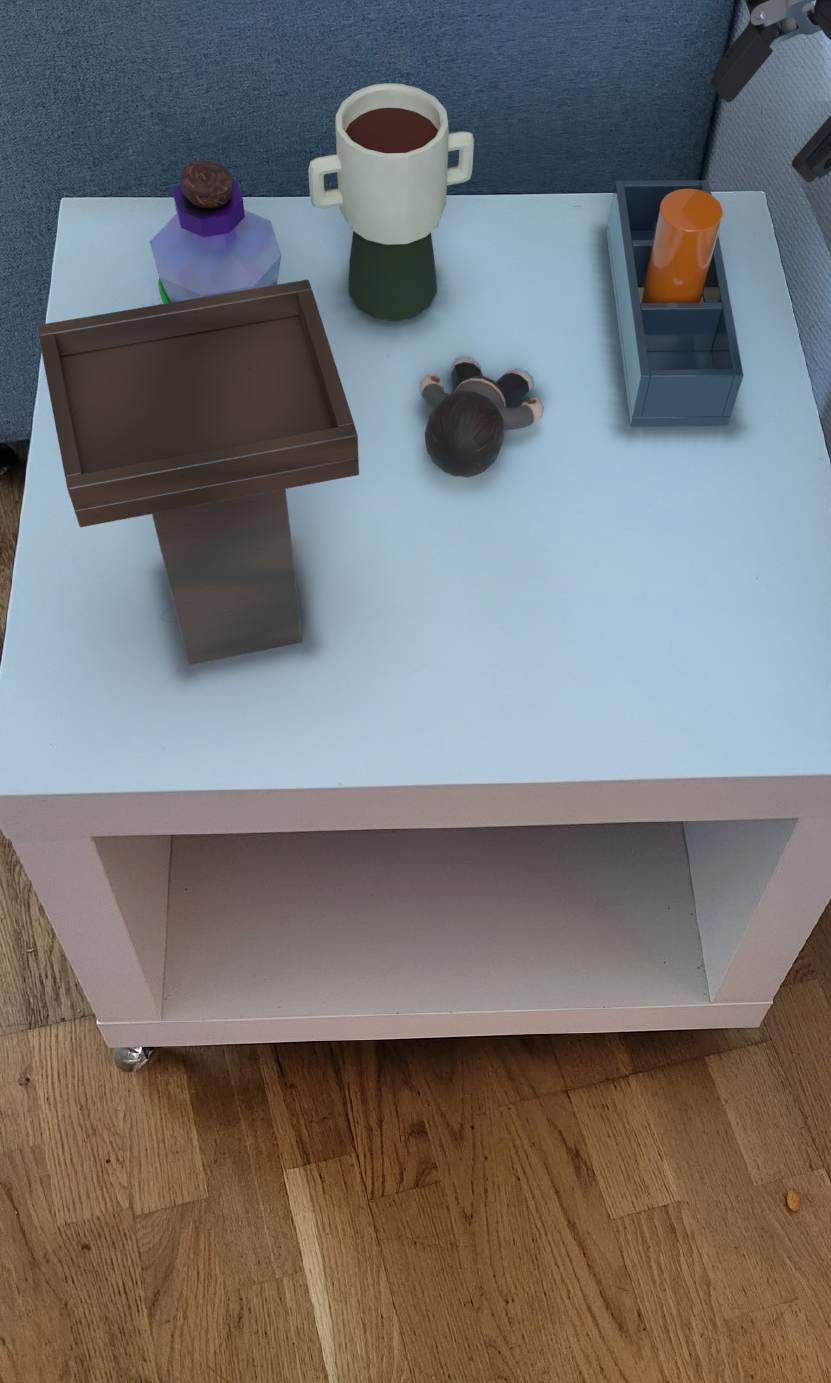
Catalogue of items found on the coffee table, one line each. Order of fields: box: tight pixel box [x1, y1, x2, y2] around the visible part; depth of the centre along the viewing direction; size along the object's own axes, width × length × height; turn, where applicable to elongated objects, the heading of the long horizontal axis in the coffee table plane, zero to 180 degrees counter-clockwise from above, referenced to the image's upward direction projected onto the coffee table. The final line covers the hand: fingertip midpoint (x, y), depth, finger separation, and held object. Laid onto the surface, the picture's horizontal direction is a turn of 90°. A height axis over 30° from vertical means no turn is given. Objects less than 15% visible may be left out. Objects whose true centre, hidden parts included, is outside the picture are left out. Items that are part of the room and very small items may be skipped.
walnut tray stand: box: [36, 279, 360, 666], centre depth 72 cm, size 14×11×18 cm
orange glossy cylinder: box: [640, 189, 724, 304], centre depth 87 cm, size 4×4×8 cm
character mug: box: [307, 82, 475, 322], centre depth 86 cm, size 11×7×13 cm, turn 106°
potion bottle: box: [149, 159, 282, 304], centre depth 85 cm, size 9×9×12 cm
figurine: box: [419, 355, 544, 478], centre depth 85 cm, size 8×5×10 cm
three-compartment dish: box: [606, 179, 744, 427], centre depth 89 cm, size 7×19×4 cm, turn 1°
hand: (758, 133), depth 81 cm, fingers open, 8 cm apart
